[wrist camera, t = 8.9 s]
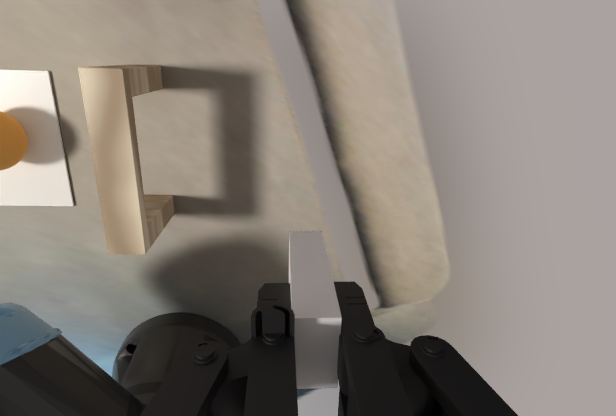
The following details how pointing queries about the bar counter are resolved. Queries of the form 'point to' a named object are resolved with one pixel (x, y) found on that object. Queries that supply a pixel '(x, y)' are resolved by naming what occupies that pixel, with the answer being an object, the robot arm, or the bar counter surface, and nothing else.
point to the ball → (11, 141)
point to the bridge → (122, 156)
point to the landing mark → (34, 142)
